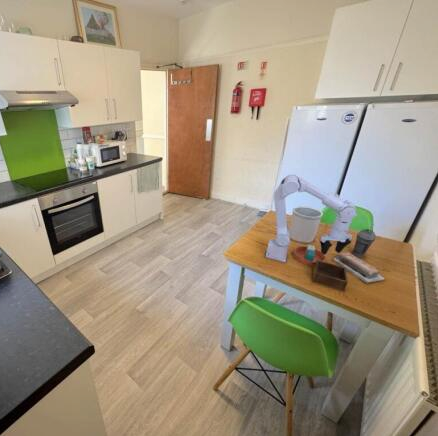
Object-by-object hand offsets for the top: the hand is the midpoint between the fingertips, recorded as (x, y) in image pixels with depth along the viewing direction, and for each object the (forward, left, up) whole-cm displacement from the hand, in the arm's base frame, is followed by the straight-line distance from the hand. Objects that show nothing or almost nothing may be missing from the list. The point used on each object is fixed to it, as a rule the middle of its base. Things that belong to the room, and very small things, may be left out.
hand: (330, 252), depth 115 cm
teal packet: (-7, +2, -9) cm, 11 cm away
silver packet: (-7, +7, -9) cm, 13 cm away
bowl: (-7, +4, -9) cm, 12 cm away
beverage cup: (+15, +20, -9) cm, 27 cm away
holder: (+1, -10, -9) cm, 13 cm away
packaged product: (+13, +5, -9) cm, 17 cm away
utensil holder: (-12, +26, -9) cm, 31 cm away
